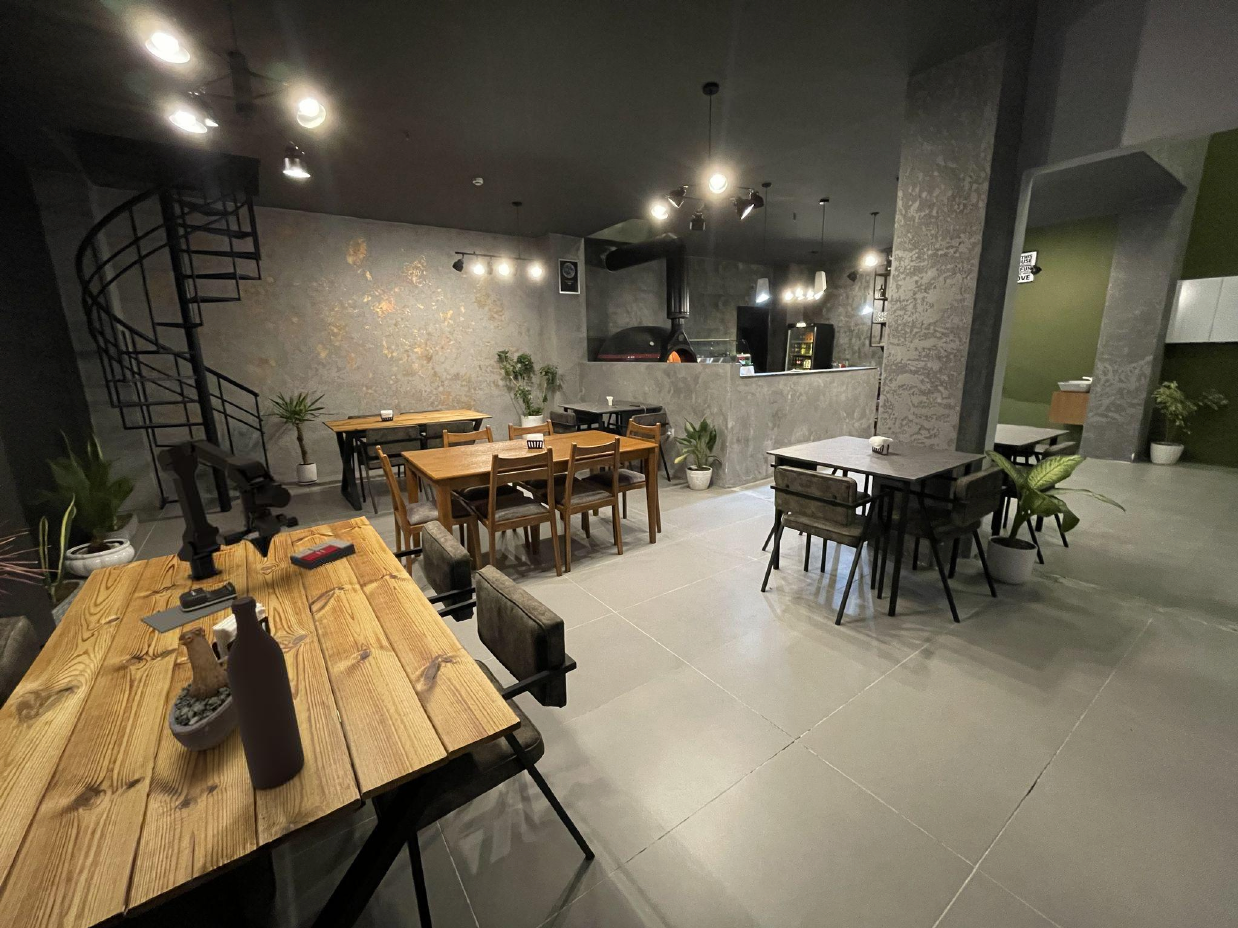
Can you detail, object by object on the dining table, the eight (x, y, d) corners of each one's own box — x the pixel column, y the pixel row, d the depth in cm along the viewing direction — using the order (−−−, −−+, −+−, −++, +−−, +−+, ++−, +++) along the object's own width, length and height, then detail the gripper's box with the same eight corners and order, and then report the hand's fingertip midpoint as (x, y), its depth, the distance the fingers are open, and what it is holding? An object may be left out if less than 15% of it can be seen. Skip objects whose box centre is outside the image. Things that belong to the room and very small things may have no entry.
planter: (246, 689, 97) (226, 597, 93) (291, 719, 89) (271, 620, 85) (149, 740, 85) (120, 637, 80) (190, 780, 77) (161, 668, 72)
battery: (236, 584, 133) (181, 600, 125) (238, 597, 134) (184, 614, 126) (229, 577, 138) (176, 592, 129) (232, 589, 139) (179, 605, 130)
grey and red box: (288, 554, 155) (334, 536, 168) (291, 566, 157) (336, 547, 169) (308, 560, 150) (353, 541, 163) (311, 573, 151) (356, 553, 164)
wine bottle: (301, 747, 83) (268, 584, 76) (309, 773, 77) (275, 600, 71) (249, 770, 78) (210, 599, 71) (254, 800, 73) (212, 618, 66)
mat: (140, 619, 124) (140, 618, 124) (215, 592, 138) (215, 591, 138) (162, 633, 118) (161, 631, 118) (238, 603, 132) (238, 602, 131)
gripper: (229, 520, 126) (241, 575, 130) (304, 500, 142) (313, 550, 145) (209, 513, 132) (221, 567, 135) (284, 495, 147) (293, 544, 151)
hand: (264, 557), depth 141 cm, fingers closed
